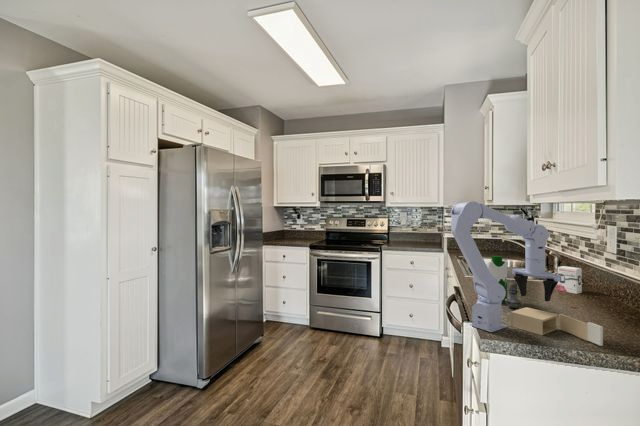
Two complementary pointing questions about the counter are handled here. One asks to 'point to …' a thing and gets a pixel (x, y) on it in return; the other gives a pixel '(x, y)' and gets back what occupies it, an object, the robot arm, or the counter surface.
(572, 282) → the ink box
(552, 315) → the carton
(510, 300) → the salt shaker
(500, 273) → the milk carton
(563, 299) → the counter surface
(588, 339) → the flap
